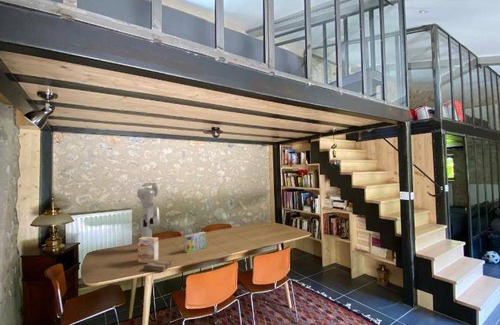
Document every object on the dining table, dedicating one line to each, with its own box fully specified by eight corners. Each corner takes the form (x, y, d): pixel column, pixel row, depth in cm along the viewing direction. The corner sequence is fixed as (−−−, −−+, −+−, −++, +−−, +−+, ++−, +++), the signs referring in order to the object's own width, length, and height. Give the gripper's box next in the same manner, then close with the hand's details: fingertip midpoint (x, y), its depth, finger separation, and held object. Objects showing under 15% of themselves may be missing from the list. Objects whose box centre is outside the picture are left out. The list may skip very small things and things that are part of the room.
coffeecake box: (137, 262, 200) (137, 238, 200) (142, 259, 207) (142, 236, 207) (154, 263, 198) (154, 239, 198) (158, 260, 205) (158, 237, 205)
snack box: (203, 246, 240) (203, 231, 240) (206, 247, 236) (206, 232, 236) (184, 251, 225) (184, 235, 225) (187, 253, 221) (187, 236, 221)
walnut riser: (152, 264, 196) (153, 259, 196) (170, 266, 193) (170, 260, 193) (143, 271, 184) (143, 265, 184) (162, 272, 181) (162, 267, 181)
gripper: (149, 203, 212) (149, 222, 212) (138, 206, 195) (138, 227, 195) (157, 203, 211) (157, 223, 211) (146, 206, 194) (146, 228, 194)
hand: (148, 225), depth 203 cm, fingers open, 9 cm apart
